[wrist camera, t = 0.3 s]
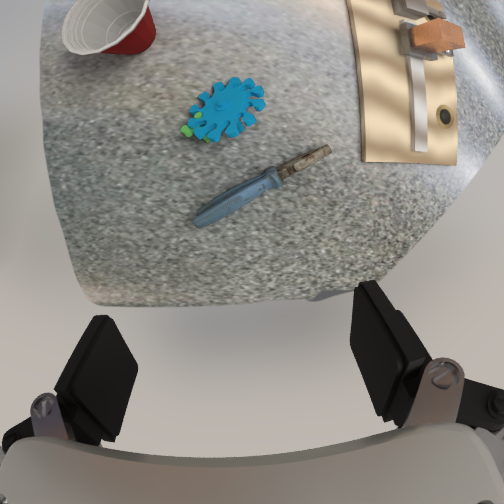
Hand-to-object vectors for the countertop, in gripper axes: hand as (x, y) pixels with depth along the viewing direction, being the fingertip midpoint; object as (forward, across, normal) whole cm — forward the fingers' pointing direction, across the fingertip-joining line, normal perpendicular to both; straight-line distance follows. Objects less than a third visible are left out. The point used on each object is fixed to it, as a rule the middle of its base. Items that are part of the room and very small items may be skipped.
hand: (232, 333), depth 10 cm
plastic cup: (+31, +11, -24) cm, 41 cm away
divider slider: (+29, -30, -18) cm, 45 cm away
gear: (+31, +1, -9) cm, 32 cm away
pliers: (+31, -3, +1) cm, 31 cm away
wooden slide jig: (+31, -28, -14) cm, 44 cm away
